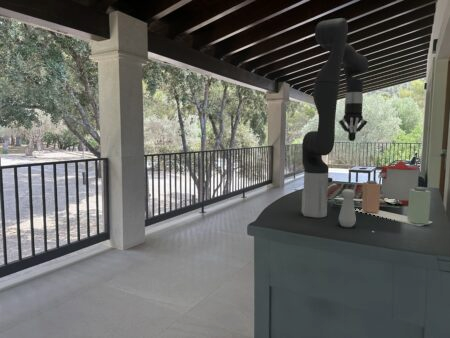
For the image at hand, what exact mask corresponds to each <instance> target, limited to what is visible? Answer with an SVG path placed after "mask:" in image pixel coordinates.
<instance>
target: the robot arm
mask: <svg viewBox="0 0 450 338" xmlns="http://www.w3.org/2000/svg"><path fill="white" fill-rule="evenodd" d="M348 31H349V25H348V20H347V19H346V18H342V17H340V18H333V19H327V20H326V19H325V20H322V21H320V22H318V23H317V25H316V26H315V30H314V37H315V41H316V42H317V43H318V45H319V46H321V47H322V48H323V49H325V50H326V51H328V52H330V54H329V56H328V59H327V61H326V62H325V63H324V65H323V66H322V67H321V69H320V70H319V71H318V73H317V75H316V76H315V79H314V84H313V85H314V86H313V93H312V95H313V103H314V105H315V107H316V111H317V115H318V124H317V126H318V127H317V130H312V131H308V132H307V133H306V134H305V135H304V136H303V139H302V144H301V146H302V147H301V153H302V154H301V156H302V157H301V159H302V165H303V173H304V174H303V189H302V190H301V214H302V215H303V217H309V218H326V217H327V213H328V190H329V189H328V188H329V186H328V185H329V168H330V167H329V165H328V164H327V163H325V162H324V160H323V158H322V156H328V155H330V153H332V151H333V149H334V146H335V139H336V137H335V136H336V135H335V134H336V133H335V132H336V113H337V104H338V97H339V91H340V89H339V88H340V81H341V72H342V69H343V73H344V76H345V83H346V87H345V90H346V93H345V97H344V98H345V99H344V115H343V118H342V119H340V120H338V124H339V125H340V126H341V128H342V130H343V131H344V132H347V133H348V136H347V139H348V141H349V142H354V141H355V140H356V136H357V135H356V134H357V133H358V132H361V130H362V129H363V128H364V127H365V126H366V125H367V123H368V121H367V120H365V119H364V118H363V117H364V116H363V104H364V103H363V101H364V96H363V95H364V93H363V90H364V87H363V86H364V81H363V79H360V78H354V77H353V75H358V74H364V73H366V72H367V71H368V70H369V67H370V65H369V60H368V58H367V57H366V56H364V55H363V54H361V53H359V52H357V51H356V49H355V48H354V47H353V46H352V45H351V44H349V43H347V40H348V33H349V32H348ZM342 65H343V67H342ZM345 123H346V124H345Z"/></svg>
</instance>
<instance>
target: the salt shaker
mask: <svg viewBox="0 0 450 338" xmlns="http://www.w3.org/2000/svg"><path fill="white" fill-rule="evenodd" d="M355 195H356V191H355V190H354V189H350V188H346V189H345V188H344V189H343V190H342V191H341V196H343V198H342V199H343V200H342V203H341V207H340V210H339V215H338V221H339V224H340V226H341V227H344V228H353V227H354V225H355V223H356V221H357V216H356V211H355V209H356V208H355V202H354V197H356V196H355Z"/></svg>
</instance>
